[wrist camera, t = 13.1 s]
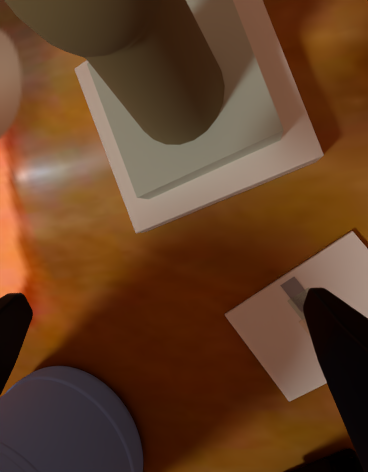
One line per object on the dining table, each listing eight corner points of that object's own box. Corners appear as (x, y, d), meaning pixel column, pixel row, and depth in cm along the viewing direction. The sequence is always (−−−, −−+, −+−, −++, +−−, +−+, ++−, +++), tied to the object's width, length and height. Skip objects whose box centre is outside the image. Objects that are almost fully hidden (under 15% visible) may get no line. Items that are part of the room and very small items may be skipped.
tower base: (316, 161, 18) (333, 146, 14) (146, 231, 21) (123, 235, 18) (244, -20, 18) (242, -84, 14) (90, 81, 22) (55, 53, 18)
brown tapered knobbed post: (182, 23, 15) (27, -396, 5) (245, 93, 15) (224, -215, 4) (116, 98, 17) (-110, -95, 6) (171, 165, 16) (19, 71, 6)
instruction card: (435, 330, 16) (439, 332, 16) (291, 402, 19) (291, 405, 19) (351, 230, 17) (353, 231, 17) (225, 313, 20) (224, 315, 20)
